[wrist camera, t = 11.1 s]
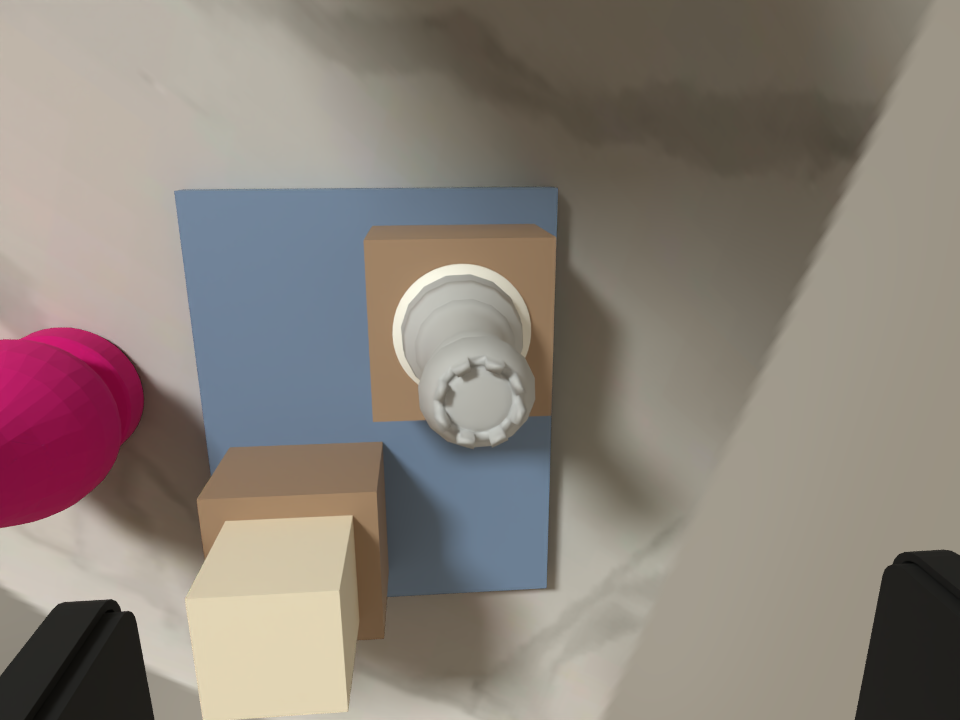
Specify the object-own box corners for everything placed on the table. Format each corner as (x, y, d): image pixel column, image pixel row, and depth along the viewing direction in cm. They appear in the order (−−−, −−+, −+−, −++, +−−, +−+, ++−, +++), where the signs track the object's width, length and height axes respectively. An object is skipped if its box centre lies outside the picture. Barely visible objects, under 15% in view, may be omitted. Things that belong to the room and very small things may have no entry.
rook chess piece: (542, 308, 26) (596, 374, 18) (481, 407, 27) (508, 508, 19) (438, 248, 25) (449, 290, 17) (378, 352, 26) (364, 436, 18)
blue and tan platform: (183, 189, 29) (50, 211, 19) (552, 186, 31) (624, 205, 20) (233, 591, 35) (153, 781, 25) (542, 574, 37) (593, 748, 26)
